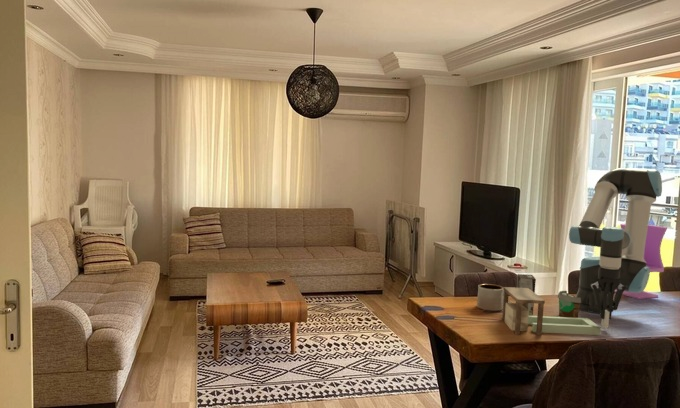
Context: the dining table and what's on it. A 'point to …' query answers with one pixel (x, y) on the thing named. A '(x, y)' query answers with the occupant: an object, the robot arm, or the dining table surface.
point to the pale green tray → (566, 325)
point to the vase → (650, 256)
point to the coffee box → (527, 282)
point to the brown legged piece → (524, 297)
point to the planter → (490, 297)
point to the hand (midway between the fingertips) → (604, 326)
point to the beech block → (511, 316)
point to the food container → (568, 305)
